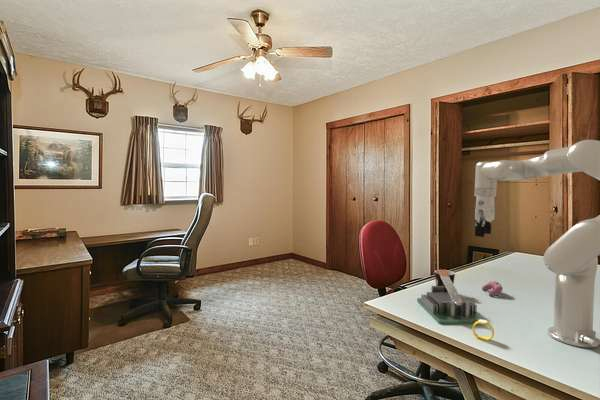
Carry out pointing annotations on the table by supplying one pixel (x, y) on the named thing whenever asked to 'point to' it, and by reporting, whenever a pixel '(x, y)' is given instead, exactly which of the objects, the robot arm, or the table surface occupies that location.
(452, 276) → the coffee mug
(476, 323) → the watch
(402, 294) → the table surface
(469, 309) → the heat sink base
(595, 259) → the robot arm
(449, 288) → the steel strap
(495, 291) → the video game controller
